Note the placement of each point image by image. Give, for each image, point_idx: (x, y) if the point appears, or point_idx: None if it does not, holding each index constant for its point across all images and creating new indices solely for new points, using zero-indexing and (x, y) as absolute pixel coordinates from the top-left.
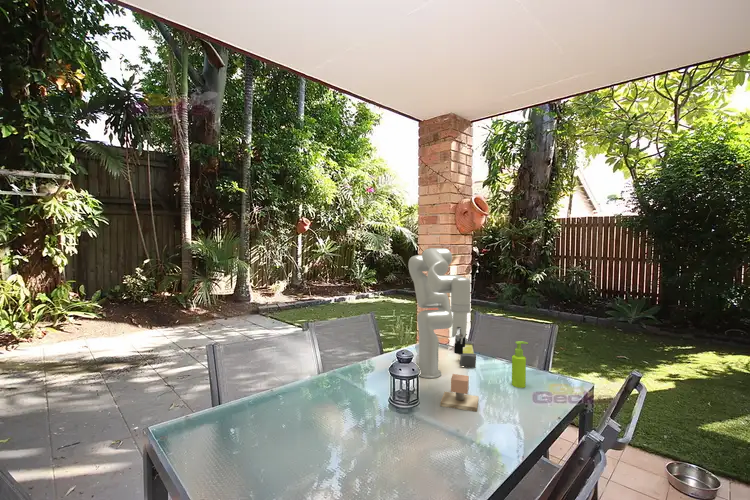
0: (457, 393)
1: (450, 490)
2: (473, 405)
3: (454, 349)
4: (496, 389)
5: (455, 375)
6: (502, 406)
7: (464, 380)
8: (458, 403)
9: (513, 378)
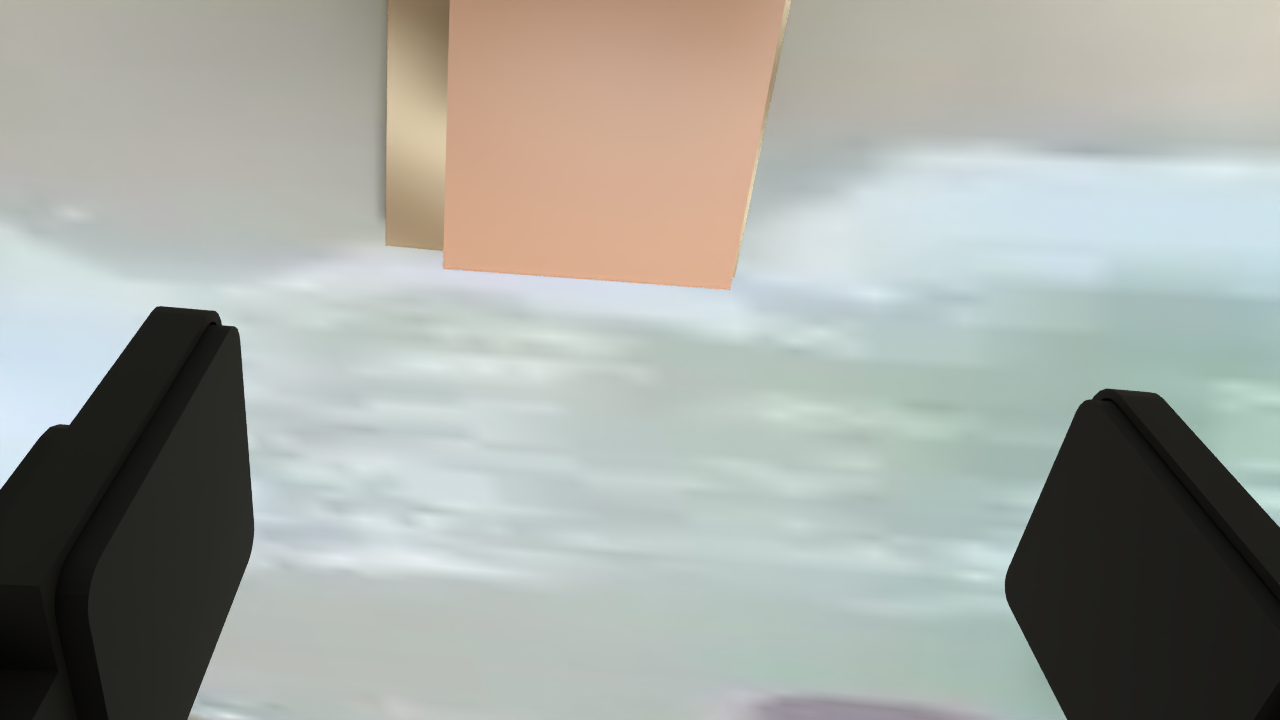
0: None
1: None
2: (441, 207)
3: (103, 379)
4: (1046, 452)
5: (701, 54)
6: (608, 472)
7: (470, 218)
8: (438, 14)
9: None
